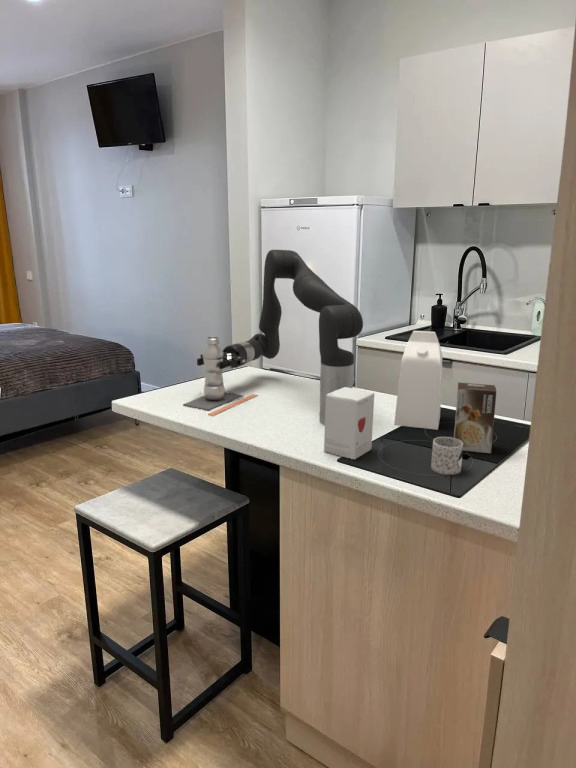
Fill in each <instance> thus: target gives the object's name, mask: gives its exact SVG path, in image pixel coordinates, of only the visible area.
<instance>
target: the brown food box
mask: <svg viewBox="0 0 576 768" xmlns="http://www.w3.org/2000/svg"><path fill="white" fill-rule="evenodd" d="M456 393H457V394H456V402H455V404H456V405H455V416H454V417H455V418H454V431H453V438H456V439H459V440H461V441H462V442H463V451H465V452H473V453H474V452H475V453H482V454H483V453H484V454H492V447H493V445H492V444H493V436H494V426H495V425H494V424H495V416H496V415H495V412H496V400H497V388H496V385H494V384H483V383H468V382H458V383H457V392H456Z"/></svg>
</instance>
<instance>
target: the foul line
mask: <svg viewBox="0 0 576 768" xmlns="http://www.w3.org/2000/svg"><path fill="white" fill-rule="evenodd" d="M258 396H259V395H258V394H256V393H255V394H253V393H252V394H249V395H248V396H246V397H243V398H241V399H237V400H236V401H234V402H231V403H230V404H229V403H228V404H226V405H224V406H223V407H221V408H218V409H216V410H213V411H210V412H209V413H208V414H207V415H208V416H212V417H215V416H216V415H218V414H221V413H223V412H225V411H228V410H229V409H232V408H234V407H237V406H239V405H241V404H243V403H245V402H248V401H249V400H252V399H254V398H256V397H258ZM236 405H237V406H236ZM227 409H228V410H227Z"/></svg>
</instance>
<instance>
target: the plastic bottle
mask: <svg viewBox="0 0 576 768" xmlns="http://www.w3.org/2000/svg"><path fill="white" fill-rule="evenodd" d="M206 344H207V345H206V347H205V348H204V350H203V351H202V354H203V361H204V387H203V394H204V395H203V396H205V397H206V398H207V399H209V400H219V399H222V398H223V397H224V395H225V392H226V388H225V385H224V377H223V369H219V362H221V361H223V357H224V354H223V349H222V348H221V346H220V337H218V336H208V337H206Z"/></svg>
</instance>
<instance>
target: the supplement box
mask: <svg viewBox="0 0 576 768" xmlns="http://www.w3.org/2000/svg"><path fill="white" fill-rule="evenodd" d="M374 405H375V392H371V391H367V390H362V389H359V388H358V389H357V388H354V387H353V388H348V387H344V388H341V389H339V390H335V391H334V392H331V393H329V394H326V408H325V425H324V437H323V438H324V440H323V452H326V453H329V454H333V455H335V456H336V455H337V456H340V457H343V458H346V459H349V458H350V460H353V459H354V461H355V460H356V459H357V458H360V457H361V456H363V455H365V454H366V453H367V452H369V451H371V450H372V448H373V447H372V445H373V443H372V442H373V428H374V409H375V407H374Z"/></svg>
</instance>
